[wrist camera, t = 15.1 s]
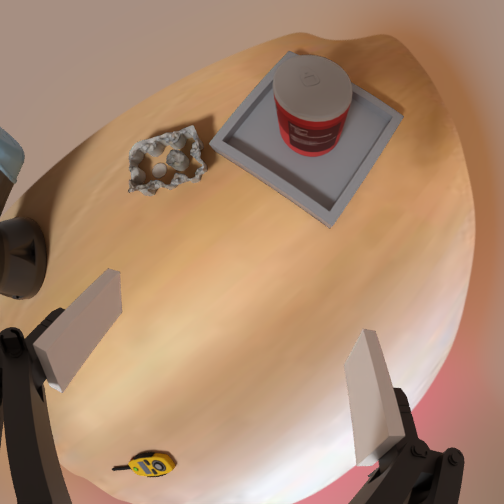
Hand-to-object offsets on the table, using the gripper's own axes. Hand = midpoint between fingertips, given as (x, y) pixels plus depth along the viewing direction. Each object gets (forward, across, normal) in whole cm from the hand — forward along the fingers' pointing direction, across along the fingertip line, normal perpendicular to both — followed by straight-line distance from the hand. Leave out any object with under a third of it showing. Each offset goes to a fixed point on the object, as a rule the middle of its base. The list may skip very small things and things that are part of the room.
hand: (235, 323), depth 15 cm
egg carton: (+27, -14, +2) cm, 30 cm away
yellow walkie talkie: (+6, -11, -43) cm, 45 cm away
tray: (+28, +3, +10) cm, 29 cm away
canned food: (+27, +3, +10) cm, 29 cm away
